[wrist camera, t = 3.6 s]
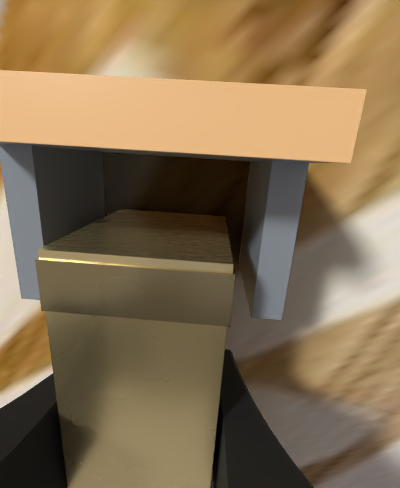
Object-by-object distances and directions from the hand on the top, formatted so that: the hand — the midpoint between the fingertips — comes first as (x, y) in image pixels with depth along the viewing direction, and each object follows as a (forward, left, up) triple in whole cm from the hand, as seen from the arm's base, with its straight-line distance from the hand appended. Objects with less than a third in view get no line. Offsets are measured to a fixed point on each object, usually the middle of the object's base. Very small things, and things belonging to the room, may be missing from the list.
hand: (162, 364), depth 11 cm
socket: (+6, 0, -2) cm, 7 cm away
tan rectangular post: (-3, 0, -2) cm, 3 cm away
